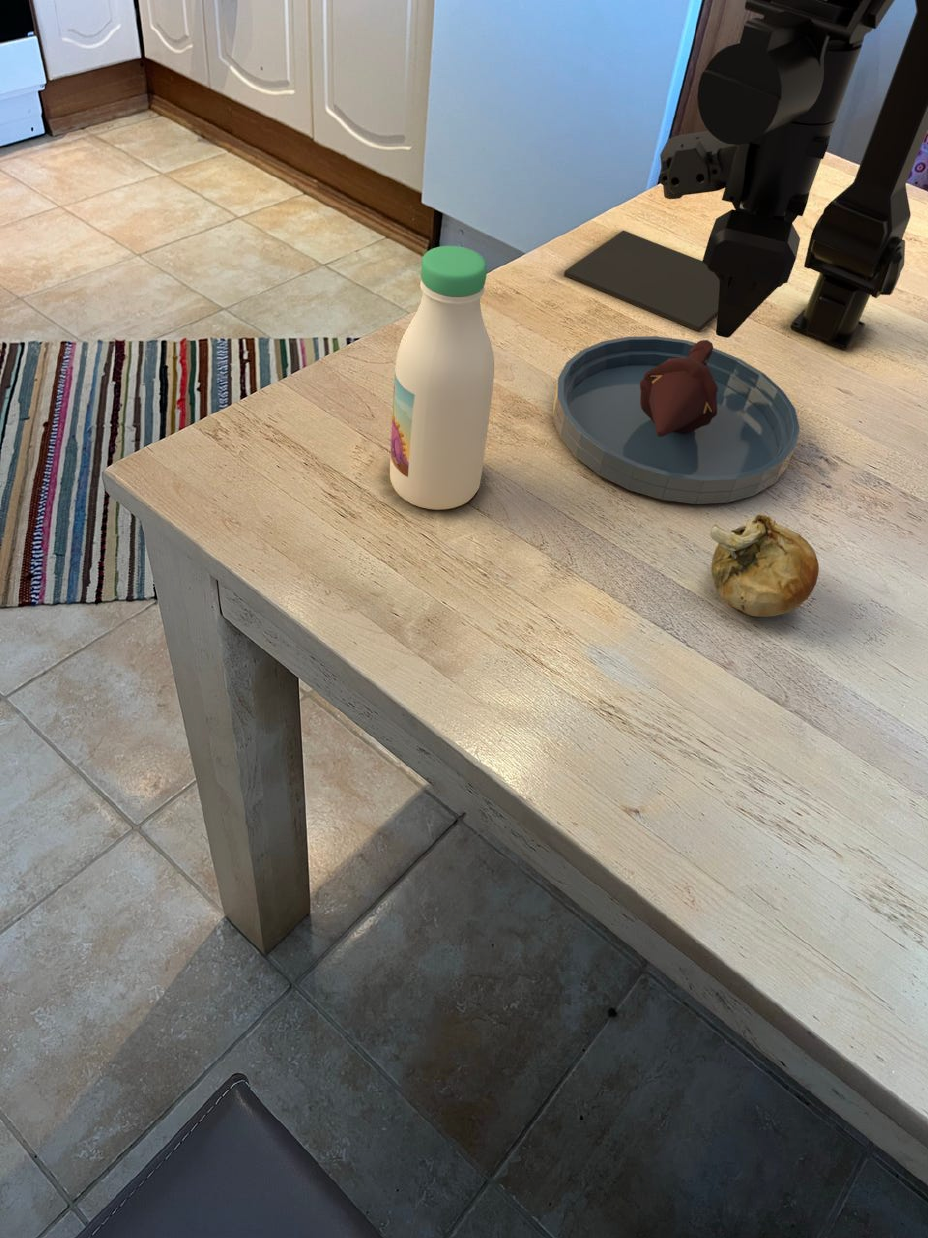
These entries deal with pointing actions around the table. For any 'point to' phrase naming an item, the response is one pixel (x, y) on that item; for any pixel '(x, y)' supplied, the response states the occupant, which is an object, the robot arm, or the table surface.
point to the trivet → (651, 279)
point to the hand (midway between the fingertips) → (730, 309)
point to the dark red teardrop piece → (681, 392)
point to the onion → (763, 567)
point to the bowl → (675, 463)
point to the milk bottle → (443, 385)
